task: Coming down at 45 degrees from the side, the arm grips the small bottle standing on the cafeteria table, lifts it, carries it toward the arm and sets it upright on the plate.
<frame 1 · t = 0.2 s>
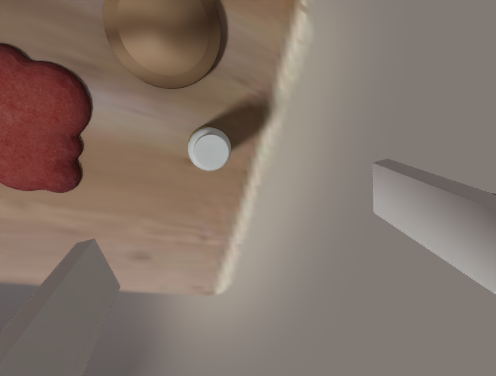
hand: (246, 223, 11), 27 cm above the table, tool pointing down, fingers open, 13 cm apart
supplement bottle: (206, 144, 37), on the table
plate: (166, 31, 32), on the table
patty: (30, 125, 32), on the table
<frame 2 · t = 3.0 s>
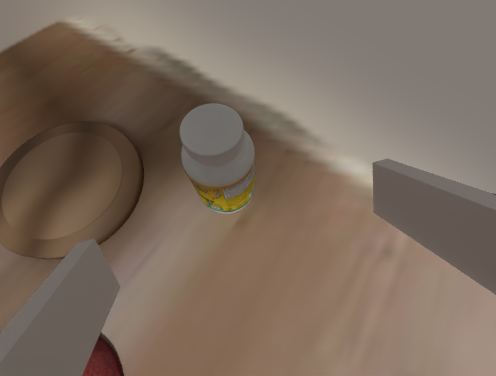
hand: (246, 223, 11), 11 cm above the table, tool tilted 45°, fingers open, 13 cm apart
supplement bottle: (227, 189, 24), on the table
plate: (73, 186, 24), on the table
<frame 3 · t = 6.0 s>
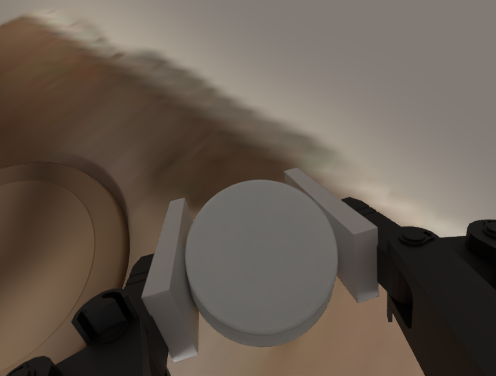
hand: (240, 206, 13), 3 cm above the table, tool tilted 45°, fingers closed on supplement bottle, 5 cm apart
supplement bottle: (258, 275, 15), on the table, touching gripper
plate: (18, 267, 16), on the table
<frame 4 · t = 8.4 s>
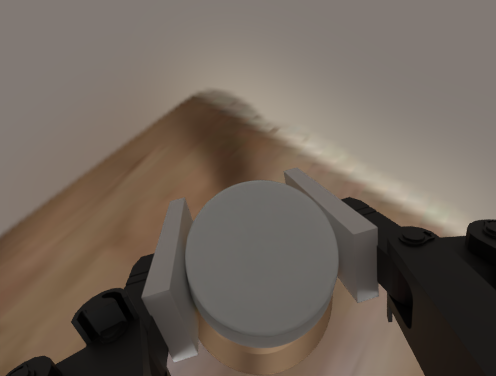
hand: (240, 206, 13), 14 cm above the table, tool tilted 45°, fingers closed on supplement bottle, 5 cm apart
supplement bottle: (258, 275, 15), point 10 cm above the table, touching gripper
plate: (258, 286, 25), on the table
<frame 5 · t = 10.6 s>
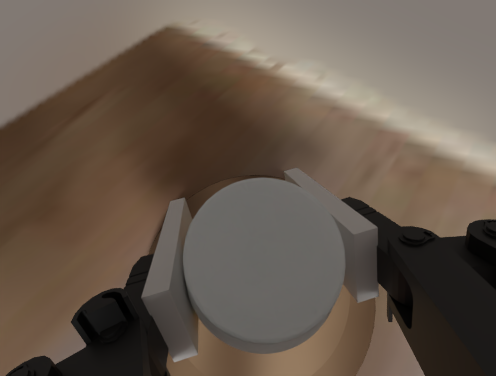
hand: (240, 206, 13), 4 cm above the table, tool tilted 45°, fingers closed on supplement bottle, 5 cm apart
supplement bottle: (258, 276, 15), point 1 cm above the table, touching gripper, plate
plate: (256, 280, 16), on the table
when the fingers open (4 cm above the table, at t = 11.0 s): supplement bottle stays where it is, resting on plate.
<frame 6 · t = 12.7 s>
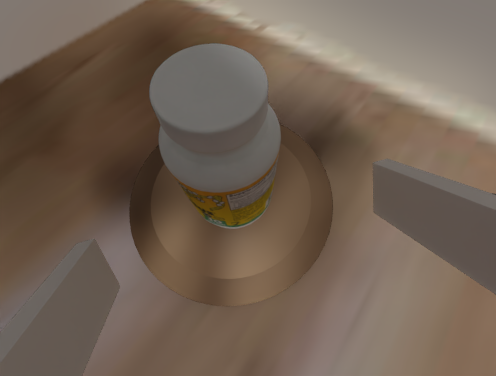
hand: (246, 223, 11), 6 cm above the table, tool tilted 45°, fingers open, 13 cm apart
supplement bottle: (232, 193, 17), point 1 cm above the table, touching plate
plate: (232, 200, 18), on the table
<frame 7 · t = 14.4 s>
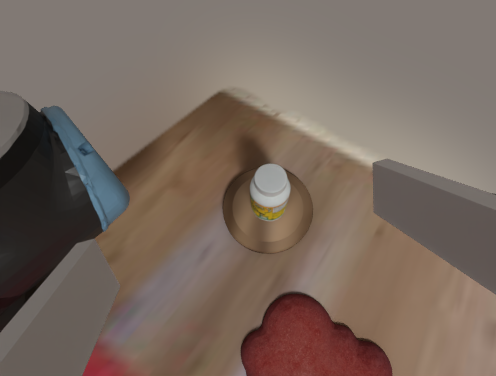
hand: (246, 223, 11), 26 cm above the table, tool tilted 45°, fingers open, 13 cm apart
supplement bottle: (268, 205, 38), point 1 cm above the table, touching plate
plate: (267, 209, 39), on the table
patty: (312, 366, 31), on the table
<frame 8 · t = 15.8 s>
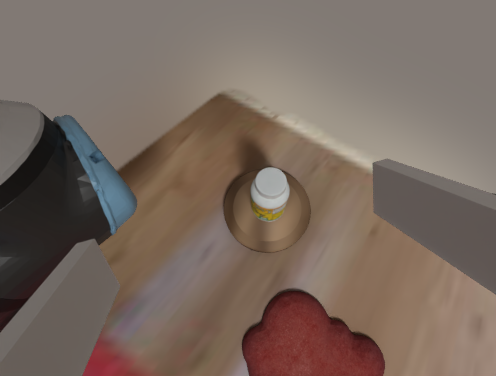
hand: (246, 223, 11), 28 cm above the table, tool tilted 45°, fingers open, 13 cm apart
supplement bottle: (267, 206, 40), point 1 cm above the table, touching plate
plate: (266, 209, 41), on the table
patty: (310, 359, 33), on the table
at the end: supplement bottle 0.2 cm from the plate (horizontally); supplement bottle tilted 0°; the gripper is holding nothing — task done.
